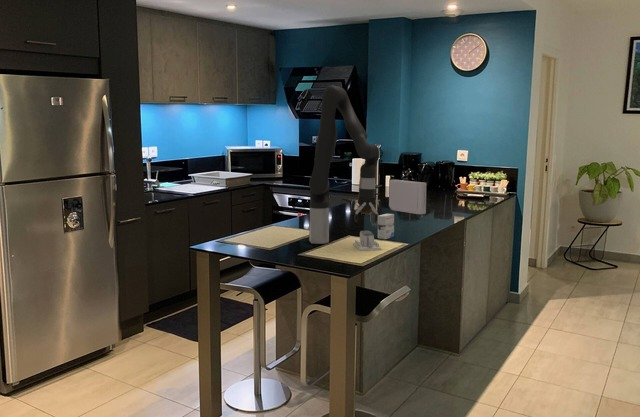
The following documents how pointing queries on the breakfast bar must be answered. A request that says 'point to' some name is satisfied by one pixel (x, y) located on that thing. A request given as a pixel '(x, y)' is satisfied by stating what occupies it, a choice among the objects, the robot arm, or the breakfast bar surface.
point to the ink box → (385, 226)
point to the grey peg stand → (362, 248)
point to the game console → (407, 196)
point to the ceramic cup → (366, 211)
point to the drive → (366, 238)
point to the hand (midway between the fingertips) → (365, 222)
